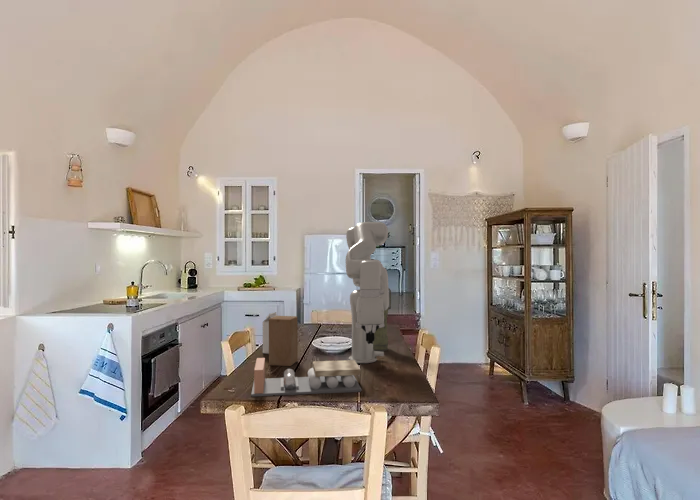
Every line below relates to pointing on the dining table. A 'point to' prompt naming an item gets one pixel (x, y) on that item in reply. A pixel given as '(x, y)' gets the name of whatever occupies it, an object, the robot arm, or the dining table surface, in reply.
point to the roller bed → (301, 383)
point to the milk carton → (267, 332)
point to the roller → (289, 379)
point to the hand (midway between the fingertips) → (370, 343)
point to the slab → (335, 368)
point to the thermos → (382, 332)
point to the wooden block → (283, 340)
